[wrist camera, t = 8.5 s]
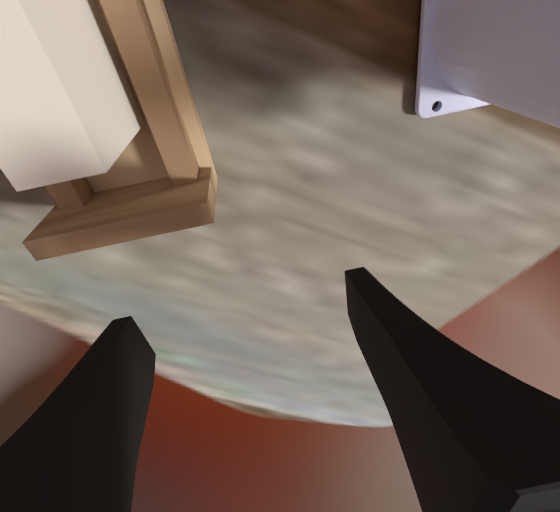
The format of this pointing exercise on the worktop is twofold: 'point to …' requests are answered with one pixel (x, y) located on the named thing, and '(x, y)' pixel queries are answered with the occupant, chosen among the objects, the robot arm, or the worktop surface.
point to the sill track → (138, 150)
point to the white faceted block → (60, 93)
